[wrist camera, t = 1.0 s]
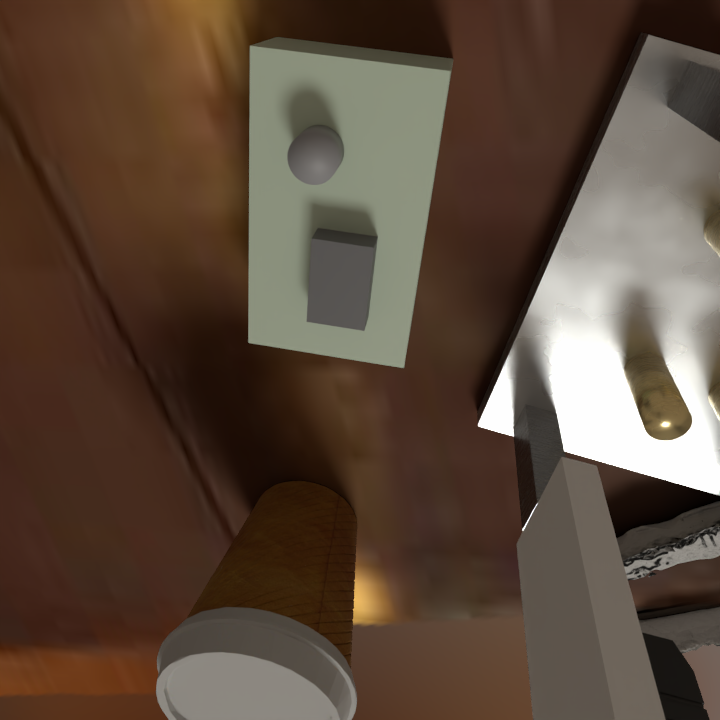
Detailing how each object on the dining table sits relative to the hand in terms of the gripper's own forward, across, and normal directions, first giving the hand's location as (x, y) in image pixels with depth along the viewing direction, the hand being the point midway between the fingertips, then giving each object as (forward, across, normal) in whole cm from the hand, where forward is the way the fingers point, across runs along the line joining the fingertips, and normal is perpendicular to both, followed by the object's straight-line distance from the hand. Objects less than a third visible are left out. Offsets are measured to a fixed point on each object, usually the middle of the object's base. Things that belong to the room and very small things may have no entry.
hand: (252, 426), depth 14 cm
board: (+17, 0, 0) cm, 17 cm away
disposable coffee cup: (+17, +1, -20) cm, 26 cm away
